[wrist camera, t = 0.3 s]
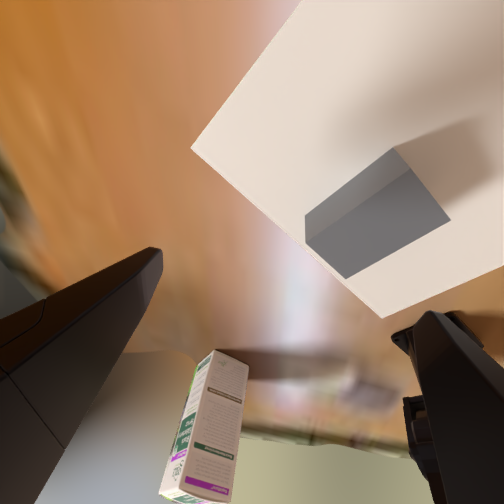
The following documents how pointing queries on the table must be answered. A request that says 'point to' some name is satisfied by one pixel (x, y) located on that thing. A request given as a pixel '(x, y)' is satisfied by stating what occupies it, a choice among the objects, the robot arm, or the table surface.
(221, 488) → the syrup box
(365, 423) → the table surface
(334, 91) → the carton lid
